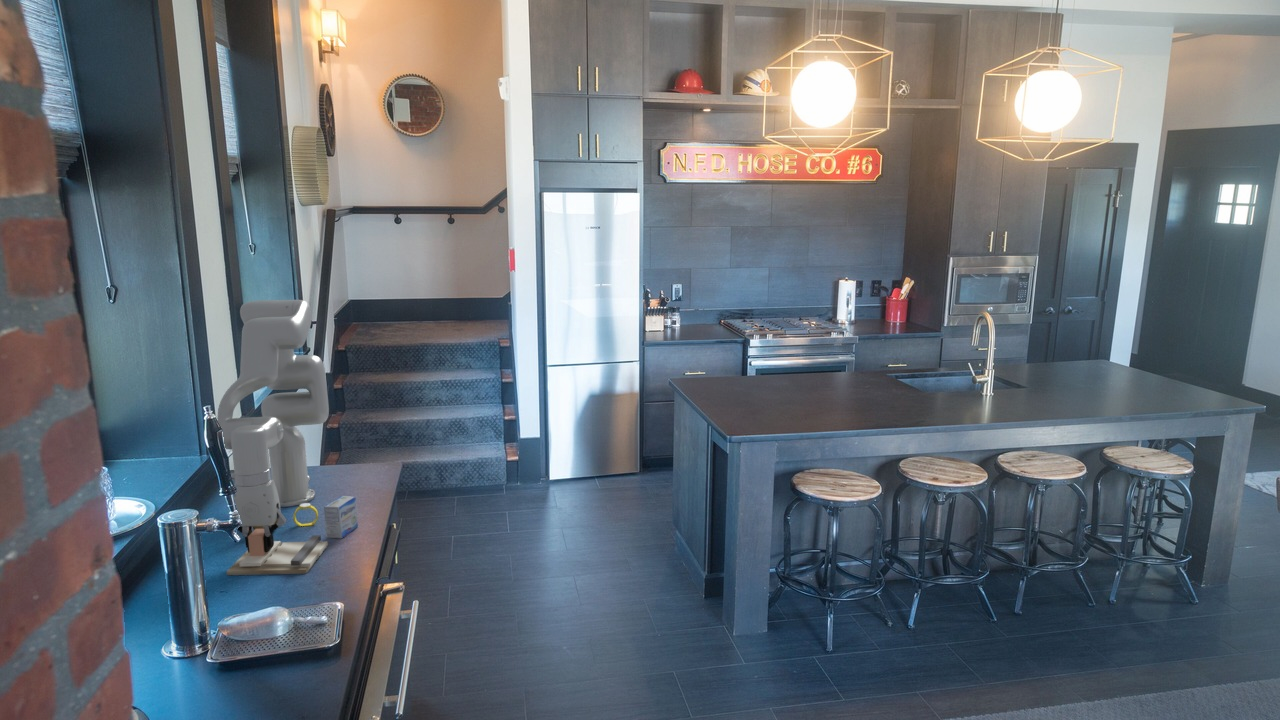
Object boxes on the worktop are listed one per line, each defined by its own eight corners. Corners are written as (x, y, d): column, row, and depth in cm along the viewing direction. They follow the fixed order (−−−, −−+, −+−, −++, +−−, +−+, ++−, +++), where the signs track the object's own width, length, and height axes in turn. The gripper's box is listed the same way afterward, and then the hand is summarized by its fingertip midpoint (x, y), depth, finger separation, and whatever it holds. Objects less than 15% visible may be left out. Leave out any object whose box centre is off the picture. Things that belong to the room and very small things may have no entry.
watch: (318, 523, 212) (318, 502, 211) (317, 527, 209) (317, 506, 208) (294, 524, 210) (294, 503, 209) (293, 528, 207) (293, 507, 206)
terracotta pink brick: (261, 544, 195) (259, 522, 194) (281, 544, 195) (279, 522, 194) (239, 566, 183) (237, 543, 182) (260, 566, 183) (258, 543, 182)
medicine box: (341, 539, 201) (339, 507, 199) (325, 538, 202) (323, 506, 200) (358, 527, 209) (356, 496, 207) (343, 525, 209) (340, 495, 208)
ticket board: (255, 546, 196) (253, 535, 196) (330, 545, 197) (329, 534, 197) (227, 575, 182) (225, 563, 181) (308, 573, 183) (307, 561, 182)
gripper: (209, 483, 181) (218, 557, 185) (282, 482, 182) (289, 556, 186) (224, 472, 188) (232, 543, 192) (294, 471, 189) (301, 542, 193)
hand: (260, 549), depth 189 cm, fingers closed on terracotta pink brick, 3 cm apart
